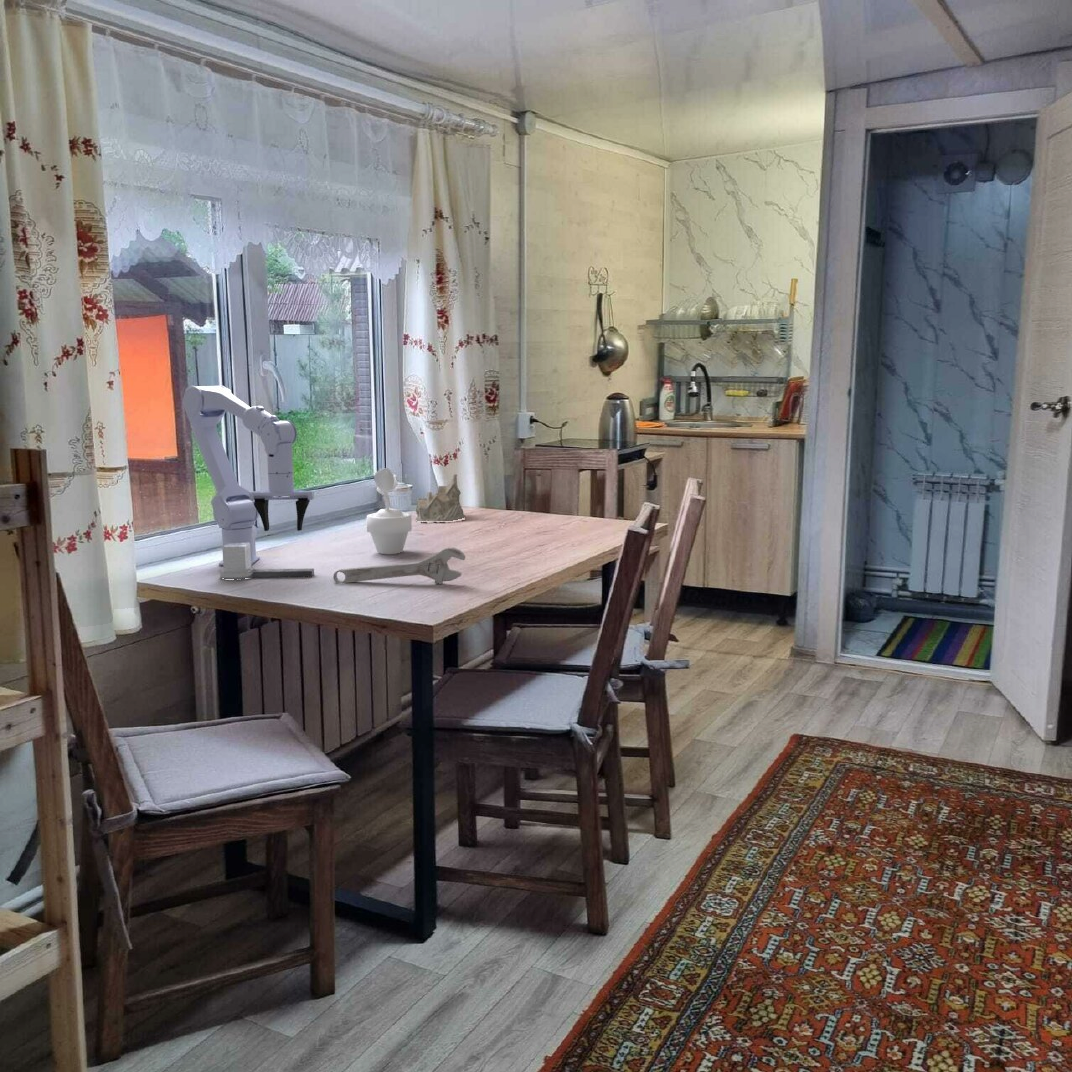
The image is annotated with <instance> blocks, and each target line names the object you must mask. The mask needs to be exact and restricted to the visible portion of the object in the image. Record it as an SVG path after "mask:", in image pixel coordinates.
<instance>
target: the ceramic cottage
mask: <svg viewBox="0 0 1072 1072" xmlns="http://www.w3.org/2000/svg"><path fill="white" fill-rule="evenodd" d="M461 494H462V492H461V490H460V489H459V488H458V474H456V473H455V474H454V473H453V475H452V478H451V479H450V481H449V482H448V483H447V485H438V488H437V493H435V494H434V493H433V492H431V491H428V492H426V497H418V498H416V499H417V500H416V508H415V512H416V515H417V517H416V518H415V521H416V520H417V521H453V520H458V519H462V518H464V517H465V518H466V515H465V514H464V510H463V508H462V505H461V502H460V495H461ZM417 521H416V522H417Z"/></svg>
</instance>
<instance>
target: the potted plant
mask: <svg viewBox="0 0 1072 1072" xmlns="http://www.w3.org/2000/svg"><path fill="white" fill-rule="evenodd" d="M399 468H401V462H400V458H399ZM391 470H392V469H389V468H388V467H386V468H384V467H383V468H380V469H379V470H377V471H376V472H374V473H375V474H374V478H373V480H374V482H375V484H376V486H377V487H376V492H378V494H379V495H382V494H383V498H384V504H385V508H381V509H379V510H378V511H377V512H374V513H370V514H367V515H366V532H368V533H370V535H371V538H372V541H373V544H374V546H375V549H376V552H377V553H378V554H381V555H396V554H397V553H398V554H401V553H402V552H403V551H404V548H405V545H406V540H407V538H408V534H409V532H411V531H412V529H413V528H412V527H413V525H412V524H413V523H412V522H413V521H412V520H413V519H412V513H410V512H408V513H407V512H403V511H402V510H399V509H396V508H391V500H390V496H389V494H388V493H390V492H393V491H394V490H395V489H396V487H397V486H398V481H397V478H396V474H395V473H393V472H392V471H391ZM405 477H407V474H405ZM400 552H401V553H400ZM398 554H397V555H398Z"/></svg>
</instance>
